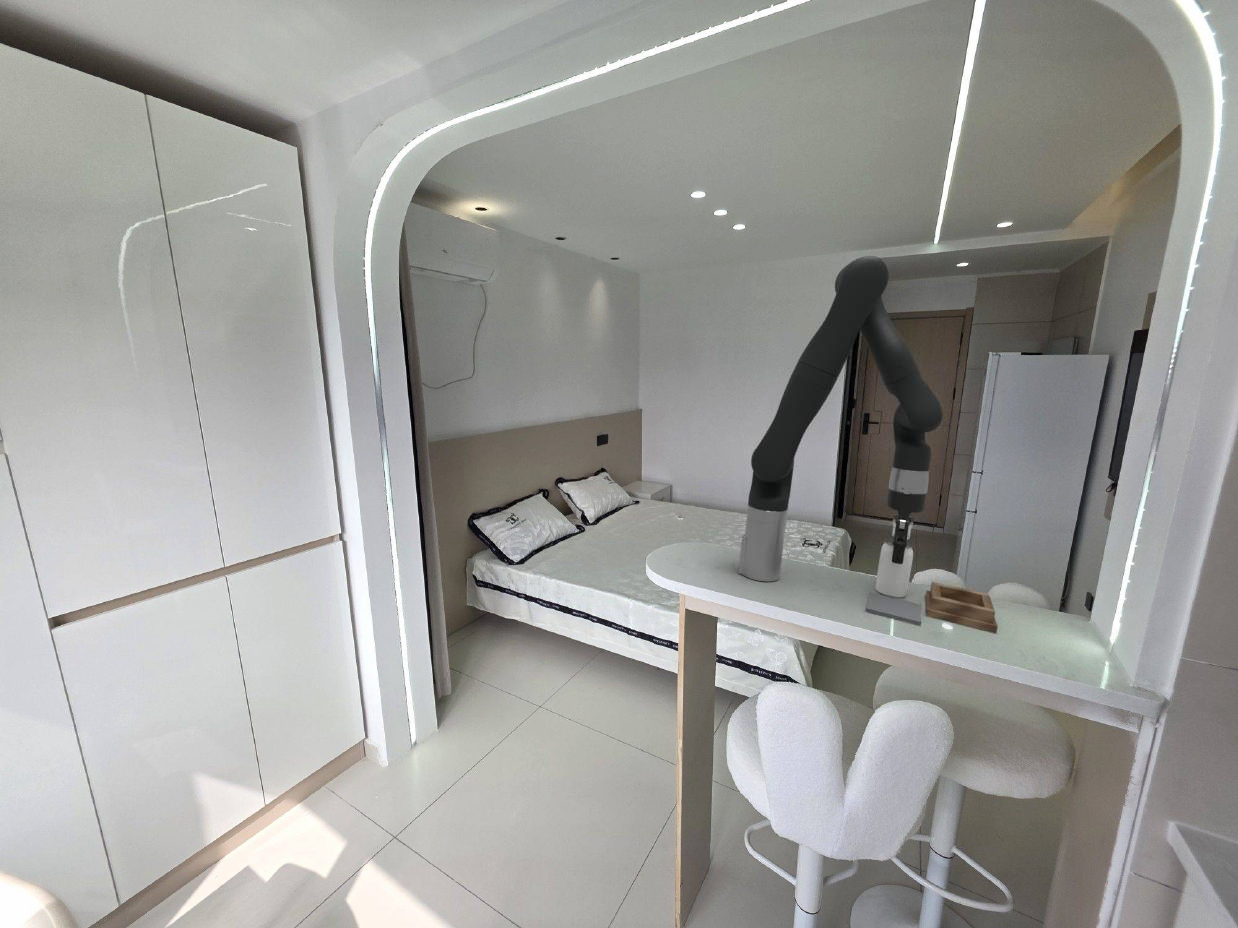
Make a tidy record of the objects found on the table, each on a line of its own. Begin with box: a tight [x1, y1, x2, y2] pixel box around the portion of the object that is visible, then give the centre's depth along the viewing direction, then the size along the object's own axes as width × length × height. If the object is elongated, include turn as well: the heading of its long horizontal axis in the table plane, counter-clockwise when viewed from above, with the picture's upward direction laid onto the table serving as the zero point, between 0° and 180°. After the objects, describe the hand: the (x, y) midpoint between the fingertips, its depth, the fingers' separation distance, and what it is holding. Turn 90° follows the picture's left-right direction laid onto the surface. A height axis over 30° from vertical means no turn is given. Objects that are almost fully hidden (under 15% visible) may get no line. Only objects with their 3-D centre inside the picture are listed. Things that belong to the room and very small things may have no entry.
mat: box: [865, 591, 922, 627], centre depth 106 cm, size 10×10×1 cm
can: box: [874, 539, 914, 599], centre depth 114 cm, size 6×6×12 cm
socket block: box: [924, 581, 998, 634], centre depth 106 cm, size 12×12×4 cm
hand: (898, 557), depth 113 cm, fingers open, 8 cm apart
